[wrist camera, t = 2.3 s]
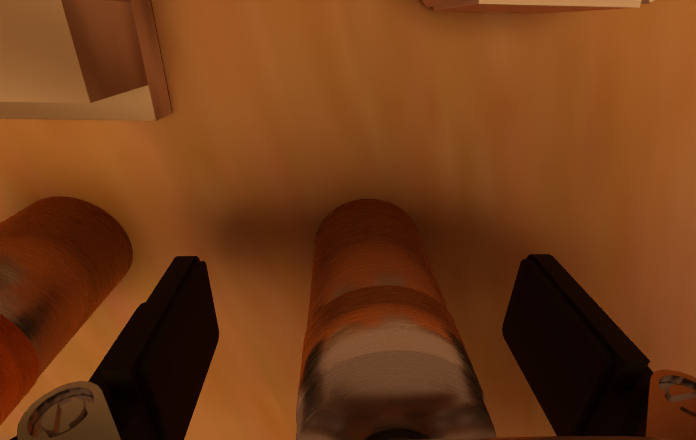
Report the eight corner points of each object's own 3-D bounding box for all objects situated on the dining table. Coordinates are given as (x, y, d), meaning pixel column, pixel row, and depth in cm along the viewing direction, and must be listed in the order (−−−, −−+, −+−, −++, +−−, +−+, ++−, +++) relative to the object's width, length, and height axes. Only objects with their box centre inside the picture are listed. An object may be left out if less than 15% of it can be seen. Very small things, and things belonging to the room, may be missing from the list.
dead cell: (414, 288, 16) (489, 546, 8) (314, 288, 15) (293, 549, 8) (425, 198, 14) (539, 419, 6) (312, 197, 14) (280, 421, 6)
